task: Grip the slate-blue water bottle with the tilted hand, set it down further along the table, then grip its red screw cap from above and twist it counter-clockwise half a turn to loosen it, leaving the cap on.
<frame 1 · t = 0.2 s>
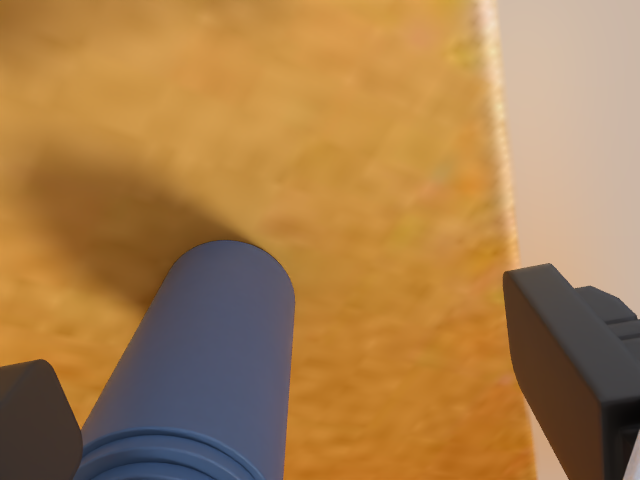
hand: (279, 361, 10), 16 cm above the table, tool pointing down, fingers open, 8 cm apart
water bottle: (229, 301, 28), on the table
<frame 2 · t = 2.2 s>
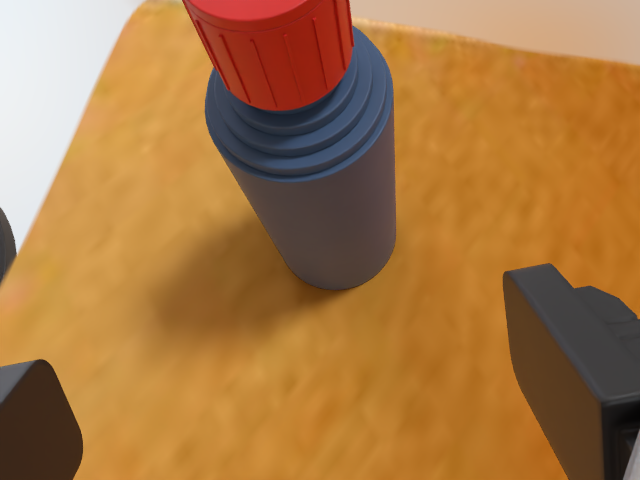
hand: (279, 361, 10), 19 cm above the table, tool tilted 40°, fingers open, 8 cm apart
water bottle: (336, 233, 32), on the table
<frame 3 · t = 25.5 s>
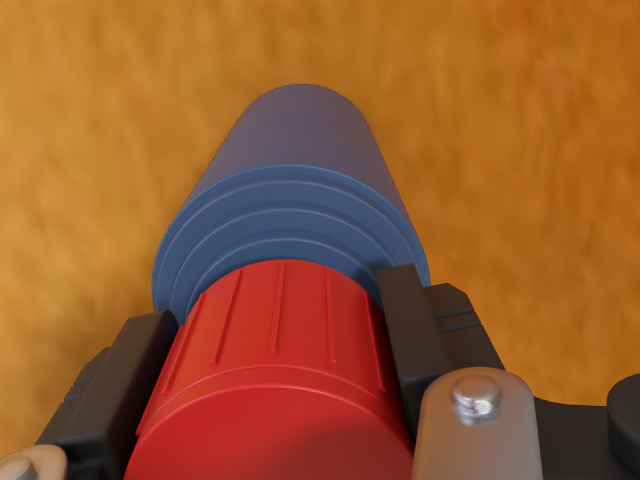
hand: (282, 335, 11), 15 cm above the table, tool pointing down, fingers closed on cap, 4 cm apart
water bottle: (302, 158, 25), on the table
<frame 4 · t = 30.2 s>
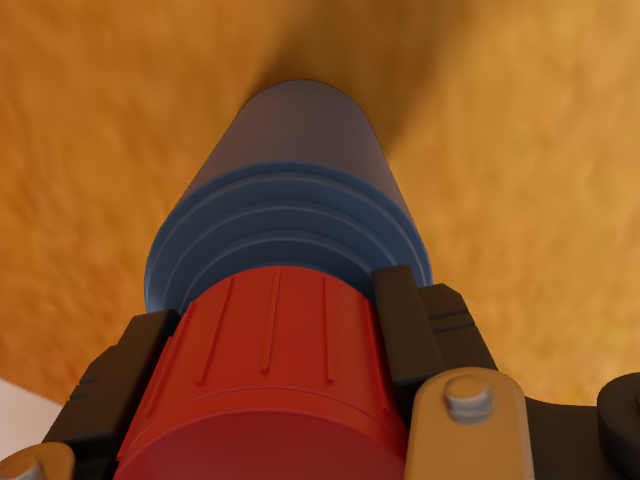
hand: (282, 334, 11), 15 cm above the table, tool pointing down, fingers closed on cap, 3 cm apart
water bottle: (301, 156, 25), on the table
when the fingers open (15 cm above the table, at t = 30.6 s): cap stays where it is, point 19 cm above the table.
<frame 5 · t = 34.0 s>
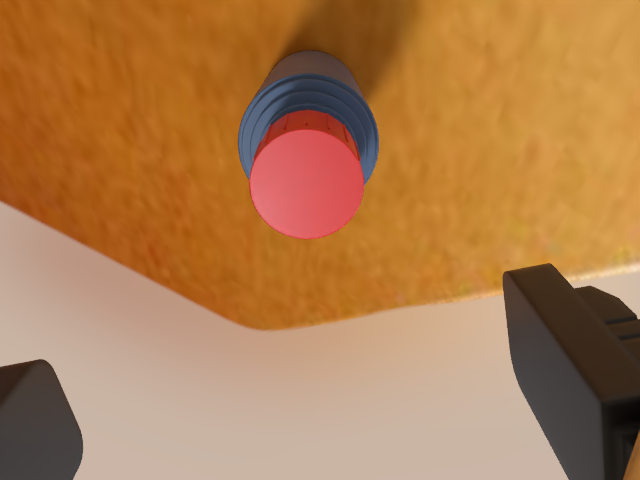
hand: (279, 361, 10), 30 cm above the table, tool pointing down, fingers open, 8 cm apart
cap: (306, 182, 21), point 19 cm above the table, turned 180° so far, risen 0.2 cm, still on its thread
water bottle: (310, 101, 38), on the table
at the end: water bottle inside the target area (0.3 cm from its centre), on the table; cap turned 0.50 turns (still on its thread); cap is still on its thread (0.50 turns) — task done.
